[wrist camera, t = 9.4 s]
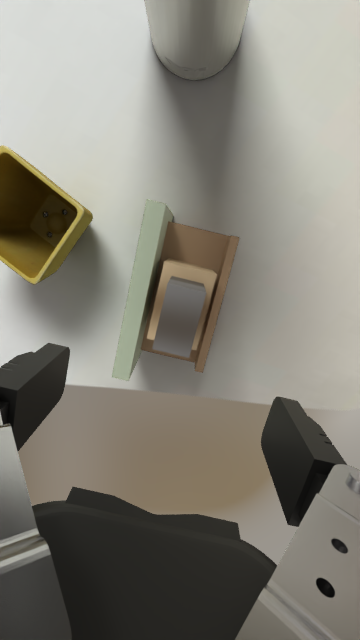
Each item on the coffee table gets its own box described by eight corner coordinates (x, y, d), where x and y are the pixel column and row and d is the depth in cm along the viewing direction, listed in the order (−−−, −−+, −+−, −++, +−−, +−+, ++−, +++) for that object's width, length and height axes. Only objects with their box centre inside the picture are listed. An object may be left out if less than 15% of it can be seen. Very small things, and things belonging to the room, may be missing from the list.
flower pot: (111, 217, 36) (86, 210, 27) (69, 276, 38) (33, 287, 29) (48, 166, 35) (0, 142, 26) (8, 230, 37) (-48, 226, 28)
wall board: (159, 211, 36) (146, 199, 25) (232, 229, 36) (249, 224, 25) (132, 340, 40) (111, 377, 29) (198, 356, 40) (201, 397, 29)
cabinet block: (168, 258, 32) (158, 265, 21) (212, 268, 32) (222, 282, 22) (154, 321, 34) (137, 358, 23) (195, 331, 34) (197, 373, 23)
